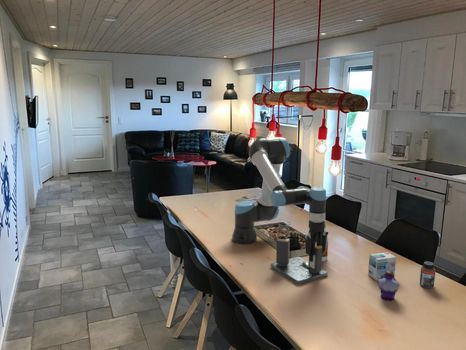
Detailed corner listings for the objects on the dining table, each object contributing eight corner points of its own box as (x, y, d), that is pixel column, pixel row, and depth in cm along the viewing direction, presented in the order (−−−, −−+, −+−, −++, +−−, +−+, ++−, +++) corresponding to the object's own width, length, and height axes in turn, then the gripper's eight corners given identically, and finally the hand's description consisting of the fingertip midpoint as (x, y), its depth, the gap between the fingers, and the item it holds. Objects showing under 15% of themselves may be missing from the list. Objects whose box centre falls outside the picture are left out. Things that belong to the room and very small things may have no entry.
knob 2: (306, 270, 190) (307, 243, 187) (314, 267, 192) (315, 242, 189) (315, 274, 184) (316, 247, 182) (322, 272, 187) (324, 246, 184)
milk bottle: (316, 262, 202) (318, 226, 198) (310, 257, 210) (311, 221, 206) (330, 261, 204) (331, 225, 200) (322, 255, 212) (324, 220, 208)
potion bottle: (380, 290, 173) (382, 265, 171) (400, 296, 168) (403, 270, 166) (373, 298, 167) (375, 272, 164) (394, 304, 162) (396, 278, 159)
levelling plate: (270, 267, 197) (270, 260, 197) (298, 259, 206) (298, 253, 205) (298, 285, 179) (298, 277, 178) (327, 276, 187) (327, 268, 187)
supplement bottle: (421, 281, 181) (423, 259, 179) (435, 285, 178) (437, 262, 175) (417, 286, 177) (420, 263, 175) (432, 290, 173) (434, 266, 171)
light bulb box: (375, 280, 182) (377, 259, 180) (367, 274, 189) (368, 254, 187) (395, 278, 185) (397, 256, 183) (386, 272, 192) (387, 251, 189)
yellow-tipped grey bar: (275, 265, 195) (276, 240, 192) (278, 261, 199) (278, 236, 196) (287, 267, 193) (288, 241, 190) (289, 263, 197) (290, 238, 194)
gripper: (309, 225, 176) (307, 273, 181) (335, 219, 184) (332, 265, 188) (298, 220, 182) (297, 267, 187) (324, 215, 190) (322, 260, 195)
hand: (315, 266), depth 188 cm, fingers closed on knob 2, 3 cm apart
